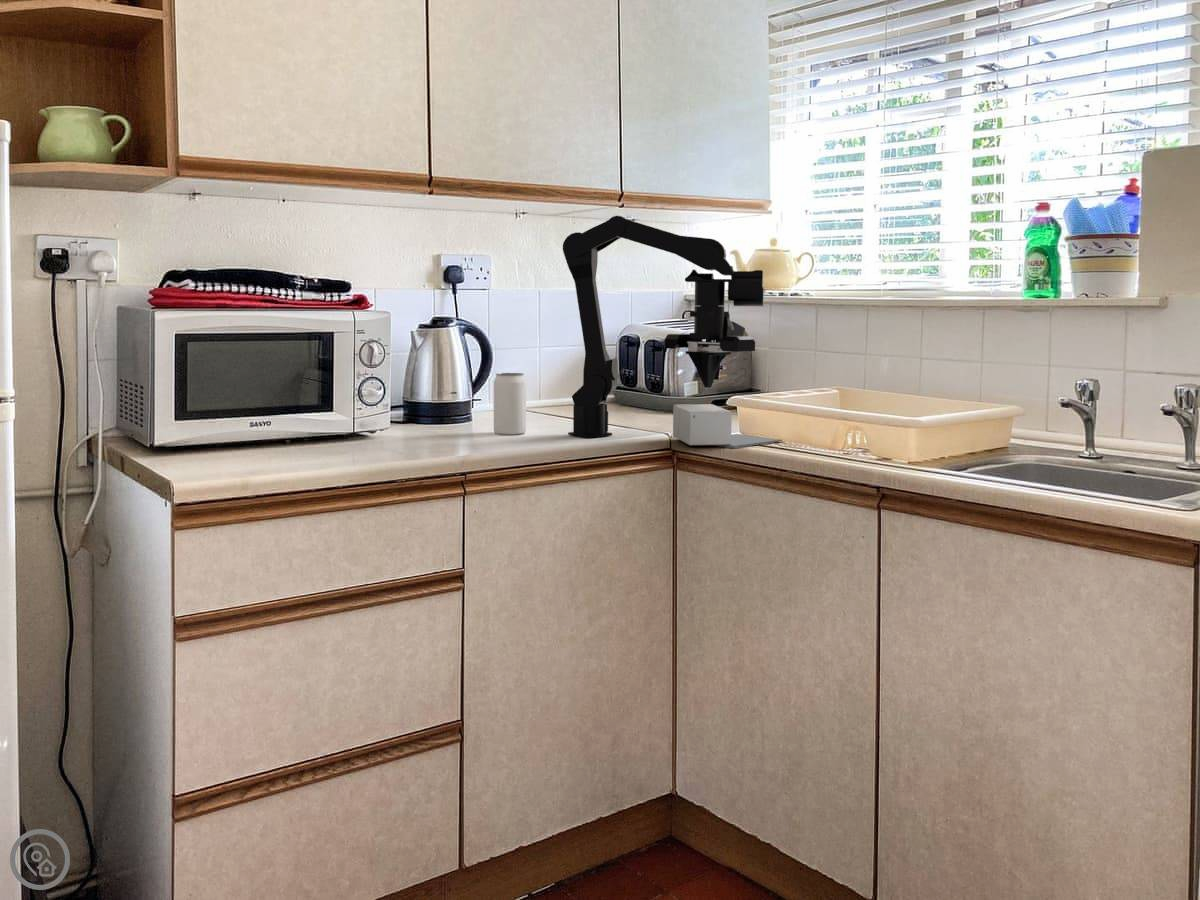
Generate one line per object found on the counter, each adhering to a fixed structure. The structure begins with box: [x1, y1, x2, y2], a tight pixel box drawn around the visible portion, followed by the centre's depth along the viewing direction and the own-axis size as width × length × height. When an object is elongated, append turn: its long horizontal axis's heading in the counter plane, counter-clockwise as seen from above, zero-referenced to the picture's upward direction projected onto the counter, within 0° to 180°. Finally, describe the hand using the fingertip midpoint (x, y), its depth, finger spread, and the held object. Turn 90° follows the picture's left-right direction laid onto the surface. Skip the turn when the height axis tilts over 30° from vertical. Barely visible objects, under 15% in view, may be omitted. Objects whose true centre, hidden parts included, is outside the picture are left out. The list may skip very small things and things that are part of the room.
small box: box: [672, 403, 733, 446], centre depth 201 cm, size 8×6×13 cm
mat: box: [711, 433, 783, 449], centre depth 204 cm, size 14×11×1 cm
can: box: [493, 372, 527, 436], centre depth 214 cm, size 6×6×12 cm
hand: (707, 387), depth 207 cm, fingers closed
